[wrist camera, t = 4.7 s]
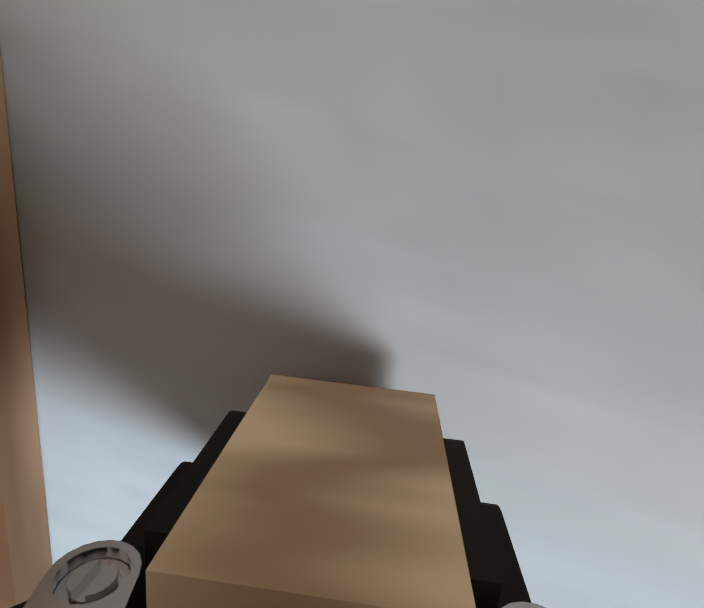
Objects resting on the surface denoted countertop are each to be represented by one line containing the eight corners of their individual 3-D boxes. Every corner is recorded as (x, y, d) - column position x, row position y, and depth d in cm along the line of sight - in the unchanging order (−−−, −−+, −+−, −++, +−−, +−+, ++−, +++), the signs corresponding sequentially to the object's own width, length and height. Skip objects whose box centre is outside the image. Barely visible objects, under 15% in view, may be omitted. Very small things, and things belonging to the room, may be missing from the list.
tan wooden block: (434, 394, 11) (478, 621, 5) (412, 533, 12) (430, 849, 6) (271, 374, 11) (145, 569, 6) (263, 512, 12) (151, 796, 7)
